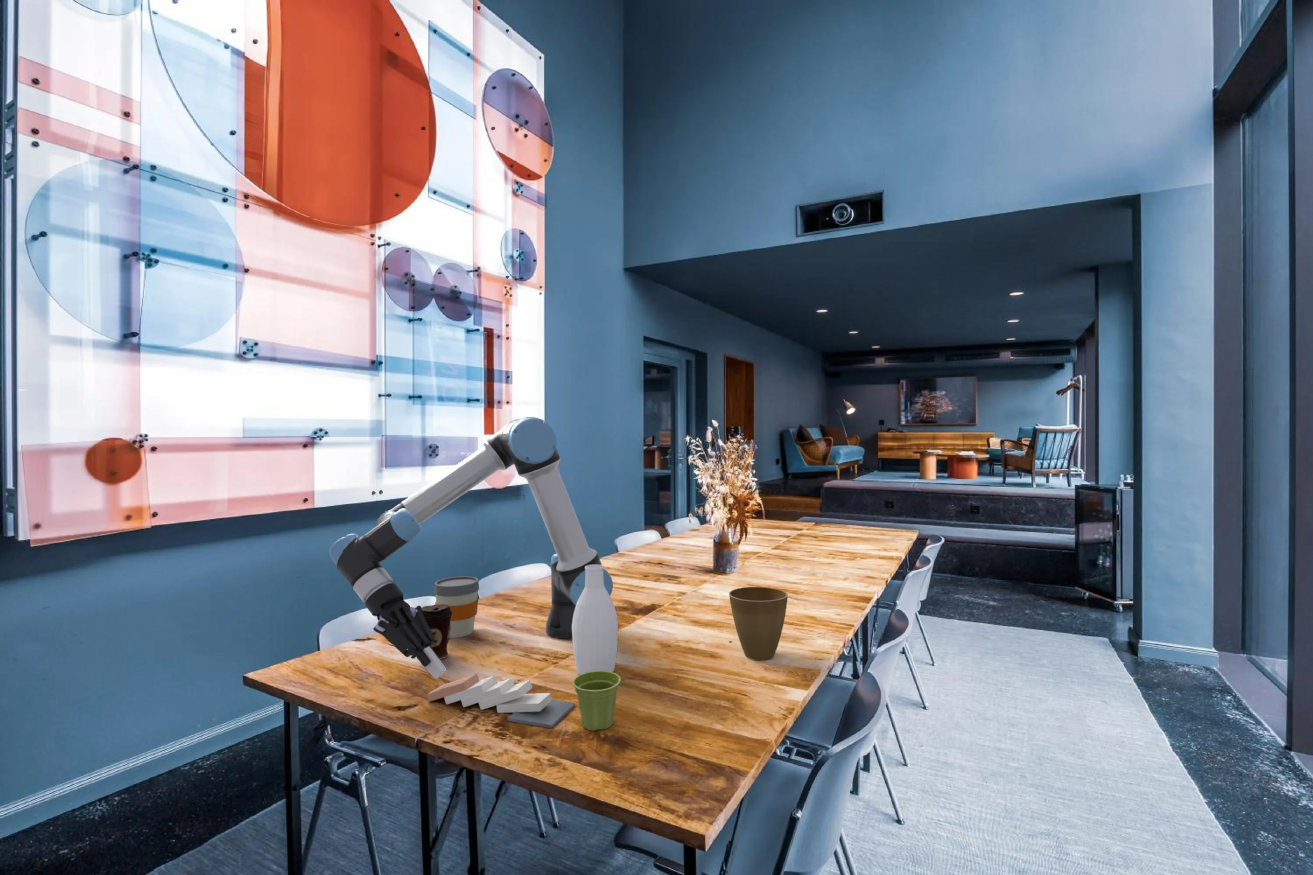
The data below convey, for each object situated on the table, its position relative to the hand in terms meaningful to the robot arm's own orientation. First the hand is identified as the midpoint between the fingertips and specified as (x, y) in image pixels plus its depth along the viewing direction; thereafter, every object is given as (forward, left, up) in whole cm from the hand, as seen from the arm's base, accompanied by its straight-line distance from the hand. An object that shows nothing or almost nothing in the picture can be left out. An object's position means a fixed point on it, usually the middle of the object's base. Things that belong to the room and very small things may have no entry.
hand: (440, 674), depth 129 cm
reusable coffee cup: (+3, -44, -5) cm, 45 cm away
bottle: (-34, -6, -5) cm, 35 cm away
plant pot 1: (-32, +20, -5) cm, 38 cm away
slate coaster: (-22, +13, -5) cm, 26 cm away
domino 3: (-6, +4, -4) cm, 9 cm away
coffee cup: (+6, -25, -5) cm, 27 cm away
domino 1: (+1, -1, -4) cm, 5 cm away
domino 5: (-14, +8, -4) cm, 16 cm away
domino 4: (-10, +6, -4) cm, 13 cm away
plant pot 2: (-76, -7, -5) cm, 77 cm away
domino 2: (-3, +2, -4) cm, 5 cm away
